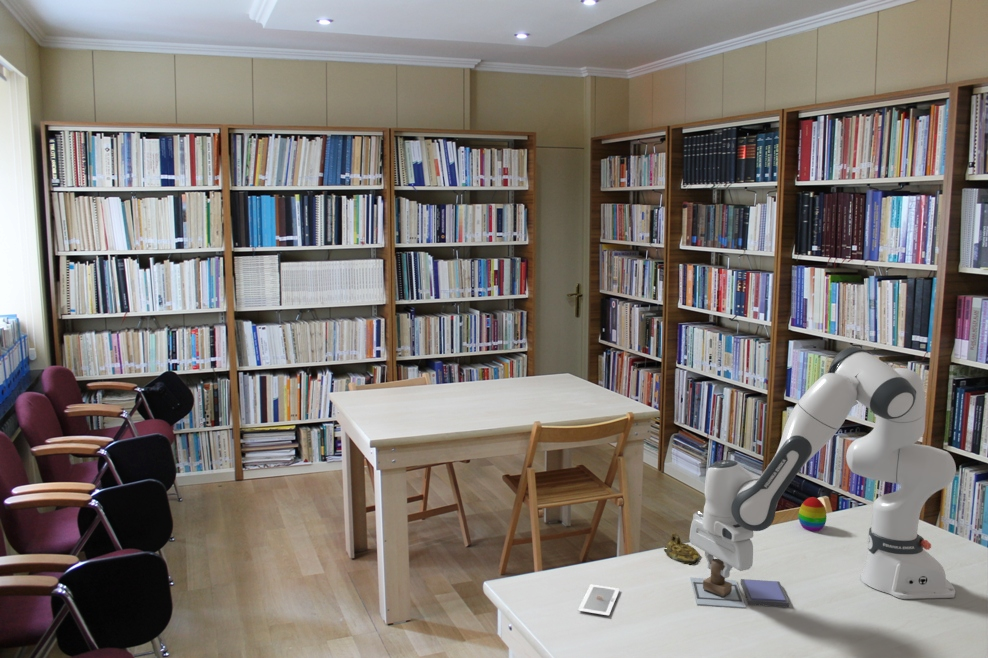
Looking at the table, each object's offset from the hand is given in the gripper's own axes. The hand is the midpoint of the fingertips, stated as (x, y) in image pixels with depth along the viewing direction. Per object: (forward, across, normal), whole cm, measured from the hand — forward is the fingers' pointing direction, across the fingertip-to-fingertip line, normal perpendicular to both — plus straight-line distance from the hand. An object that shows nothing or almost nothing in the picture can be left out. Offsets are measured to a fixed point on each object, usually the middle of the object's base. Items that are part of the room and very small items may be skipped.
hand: (718, 572), depth 209 cm
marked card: (+6, 0, 0) cm, 6 cm away
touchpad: (+6, -10, -30) cm, 32 cm away
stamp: (+5, 0, 0) cm, 5 cm away
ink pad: (+6, +6, +10) cm, 13 cm away
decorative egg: (+6, -22, +57) cm, 62 cm away
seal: (+6, -24, +7) cm, 25 cm away
